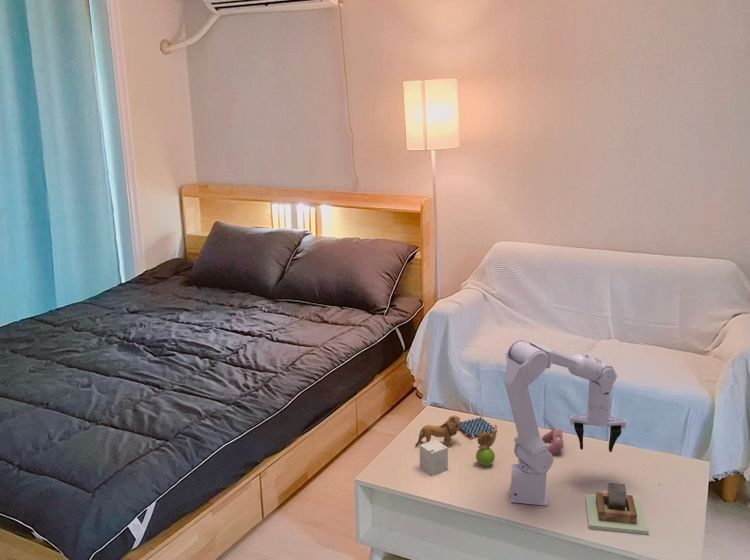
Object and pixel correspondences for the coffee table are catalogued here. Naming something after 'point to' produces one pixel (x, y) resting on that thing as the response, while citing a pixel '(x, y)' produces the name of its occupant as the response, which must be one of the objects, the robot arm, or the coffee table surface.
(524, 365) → the robot arm
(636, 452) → the coffee table surface
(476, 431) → the woven mat
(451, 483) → the coffee table surface
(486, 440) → the animal on green ball
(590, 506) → the socket block
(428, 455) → the skincare box
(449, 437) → the lion figurine
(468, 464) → the coffee table surface
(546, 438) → the video game controller
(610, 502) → the grey brown rectangular block
